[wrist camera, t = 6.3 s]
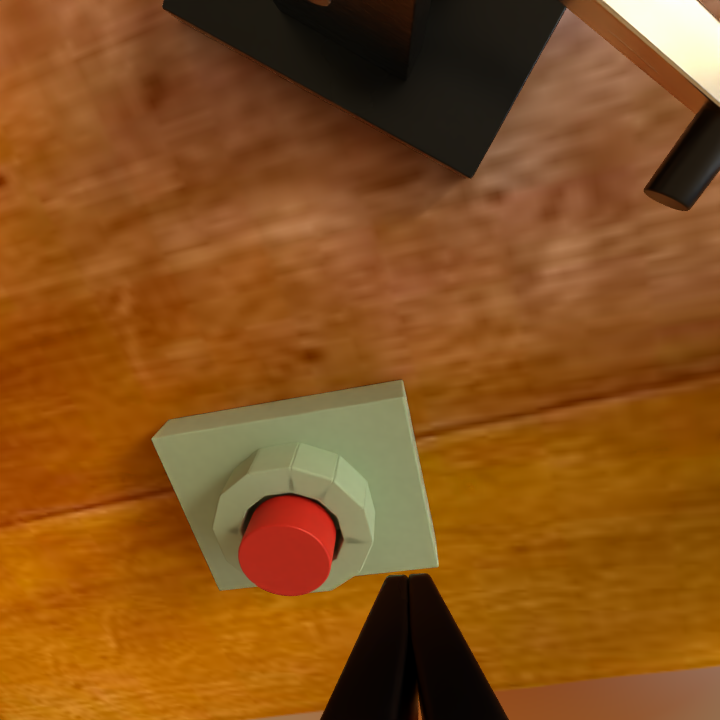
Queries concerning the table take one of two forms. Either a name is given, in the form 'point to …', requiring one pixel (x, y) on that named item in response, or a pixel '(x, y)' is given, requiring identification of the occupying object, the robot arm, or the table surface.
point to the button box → (306, 477)
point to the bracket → (395, 60)
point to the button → (288, 546)
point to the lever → (671, 80)
